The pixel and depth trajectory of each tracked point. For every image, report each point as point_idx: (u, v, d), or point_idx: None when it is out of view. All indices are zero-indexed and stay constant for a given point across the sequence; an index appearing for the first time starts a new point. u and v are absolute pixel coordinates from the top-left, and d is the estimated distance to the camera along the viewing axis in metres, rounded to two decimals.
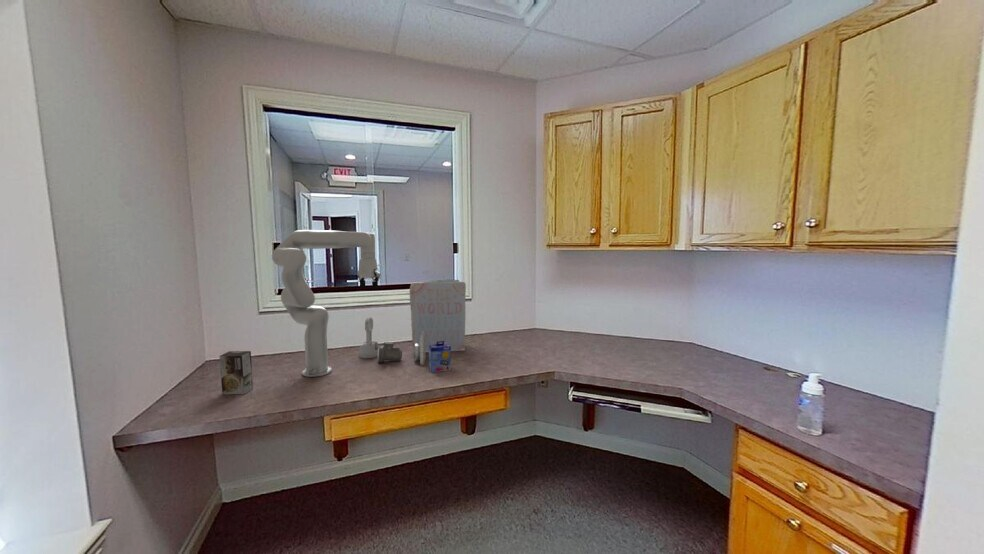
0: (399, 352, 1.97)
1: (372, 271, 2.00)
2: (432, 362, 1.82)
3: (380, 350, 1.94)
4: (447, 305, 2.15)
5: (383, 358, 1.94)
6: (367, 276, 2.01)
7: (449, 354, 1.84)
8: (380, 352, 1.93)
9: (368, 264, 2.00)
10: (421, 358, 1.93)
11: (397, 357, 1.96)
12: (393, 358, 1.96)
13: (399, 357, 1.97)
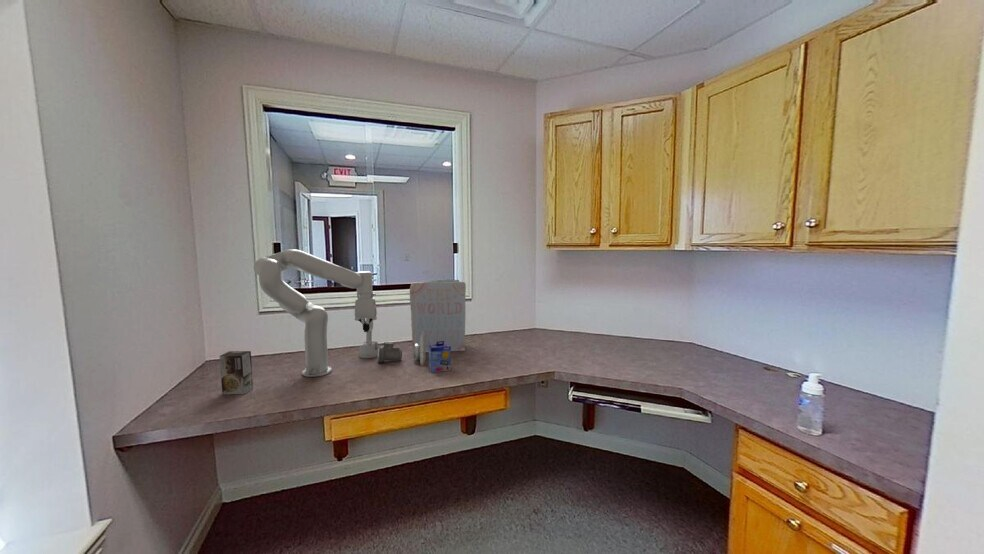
0: (399, 352, 1.97)
1: None
2: (432, 362, 1.82)
3: (380, 350, 1.94)
4: (447, 305, 2.15)
5: (383, 358, 1.94)
6: None
7: (449, 354, 1.84)
8: (380, 352, 1.93)
9: None
10: (421, 358, 1.93)
11: (397, 357, 1.96)
12: (393, 358, 1.96)
13: (399, 357, 1.97)
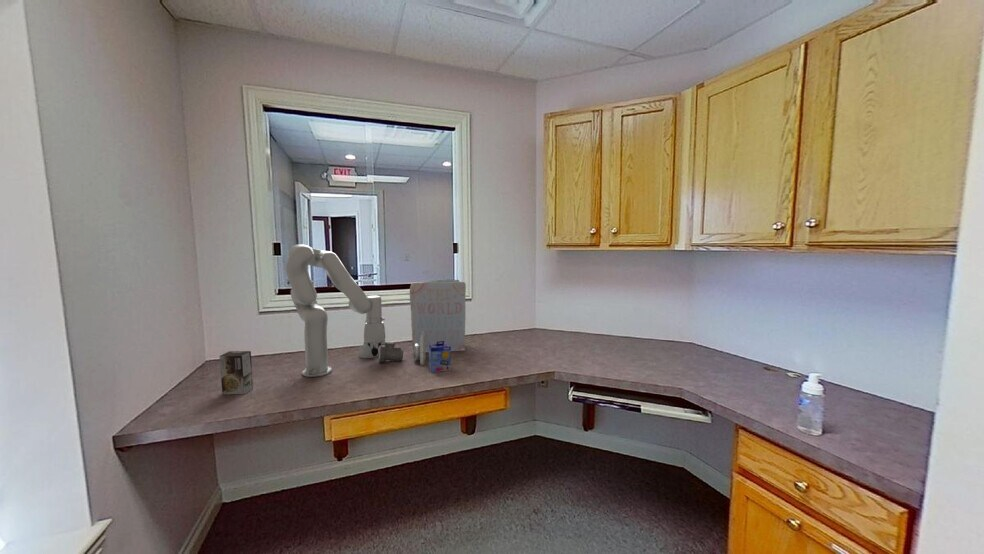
0: (400, 352, 1.97)
1: None
2: (432, 362, 1.82)
3: (381, 350, 1.94)
4: (447, 305, 2.15)
5: (384, 358, 1.94)
6: None
7: (449, 354, 1.84)
8: (381, 352, 1.93)
9: None
10: (421, 358, 1.93)
11: (398, 357, 1.96)
12: (394, 358, 1.96)
13: (400, 357, 1.97)
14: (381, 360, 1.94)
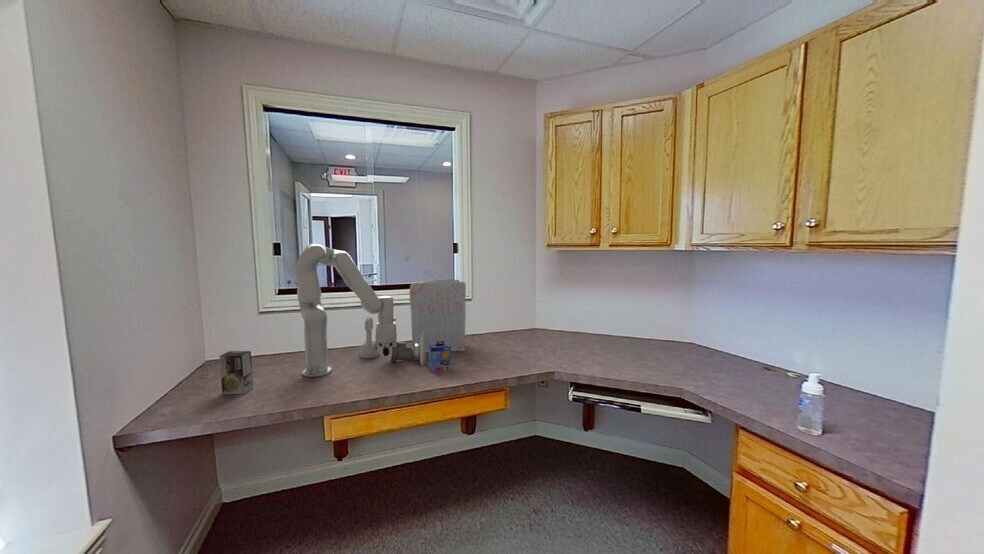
0: (412, 352, 1.98)
1: None
2: (432, 362, 1.82)
3: (393, 350, 1.94)
4: (447, 305, 2.15)
5: (396, 358, 1.95)
6: None
7: (449, 354, 1.84)
8: (393, 352, 1.94)
9: None
10: (421, 358, 1.93)
11: (410, 357, 1.97)
12: (406, 358, 1.96)
13: (412, 357, 1.97)
14: (392, 360, 1.94)
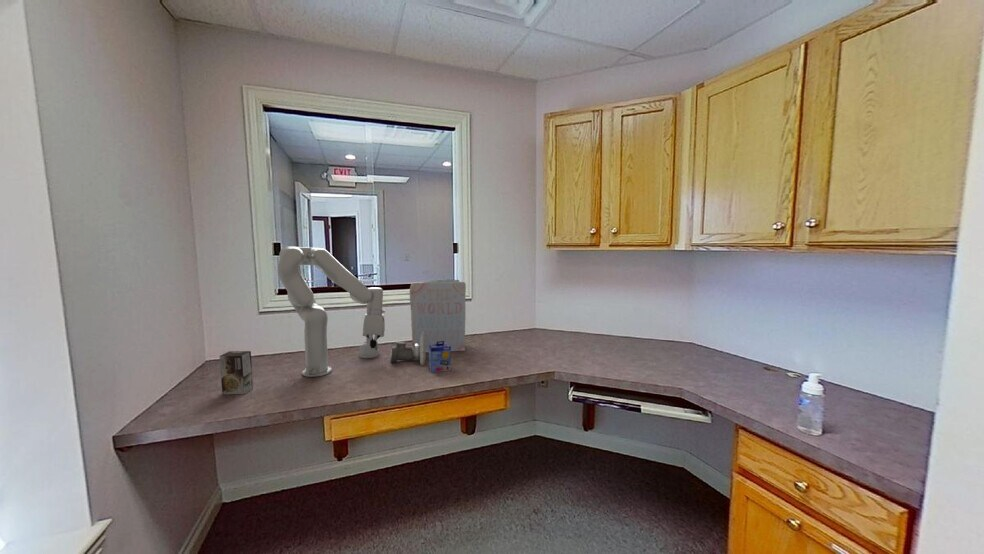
0: (412, 352, 1.98)
1: None
2: (432, 362, 1.82)
3: (393, 350, 1.94)
4: (447, 305, 2.15)
5: (396, 358, 1.95)
6: None
7: (449, 354, 1.84)
8: (393, 352, 1.94)
9: None
10: (421, 358, 1.93)
11: (410, 357, 1.97)
12: (406, 358, 1.96)
13: (412, 357, 1.97)
14: (392, 360, 1.94)
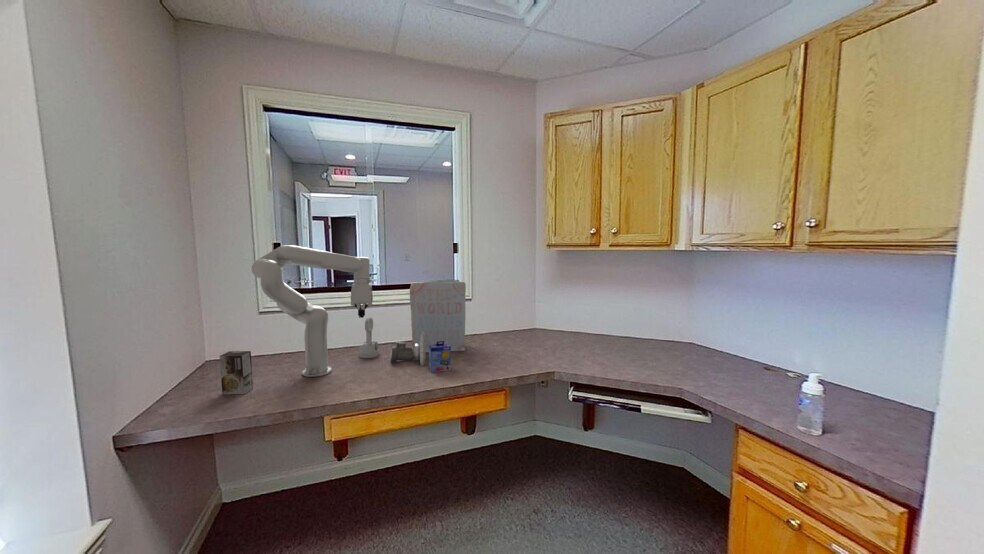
0: (412, 352, 1.98)
1: None
2: (432, 362, 1.82)
3: (393, 350, 1.94)
4: (447, 305, 2.15)
5: (396, 358, 1.95)
6: None
7: (449, 354, 1.84)
8: (393, 352, 1.94)
9: None
10: (421, 358, 1.93)
11: (410, 357, 1.97)
12: (406, 358, 1.96)
13: (412, 357, 1.97)
14: (392, 360, 1.94)
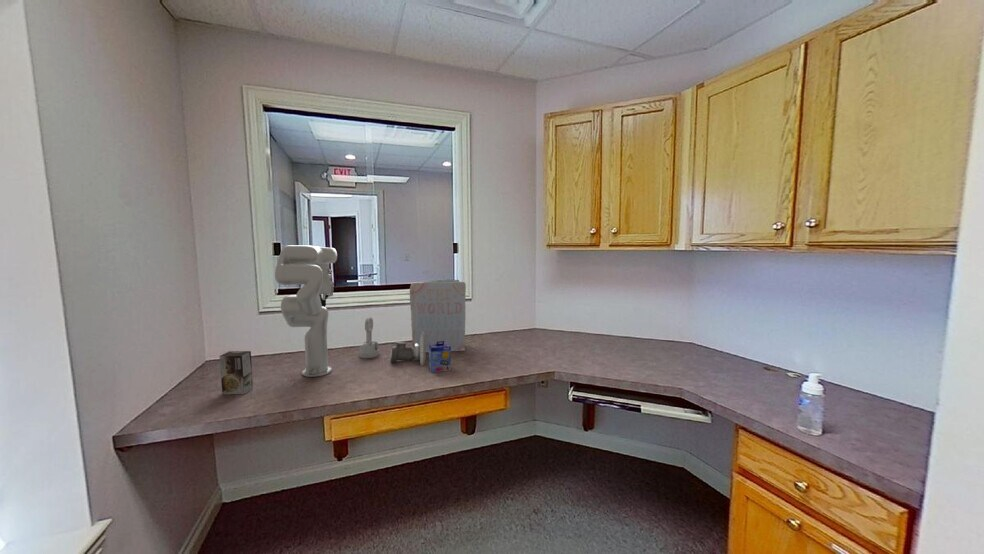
0: (412, 352, 1.98)
1: None
2: (432, 362, 1.82)
3: (393, 350, 1.94)
4: (447, 305, 2.15)
5: (396, 358, 1.95)
6: None
7: (449, 354, 1.84)
8: (393, 352, 1.94)
9: None
10: (421, 358, 1.93)
11: (410, 357, 1.97)
12: (406, 358, 1.96)
13: (412, 357, 1.97)
14: (392, 360, 1.94)
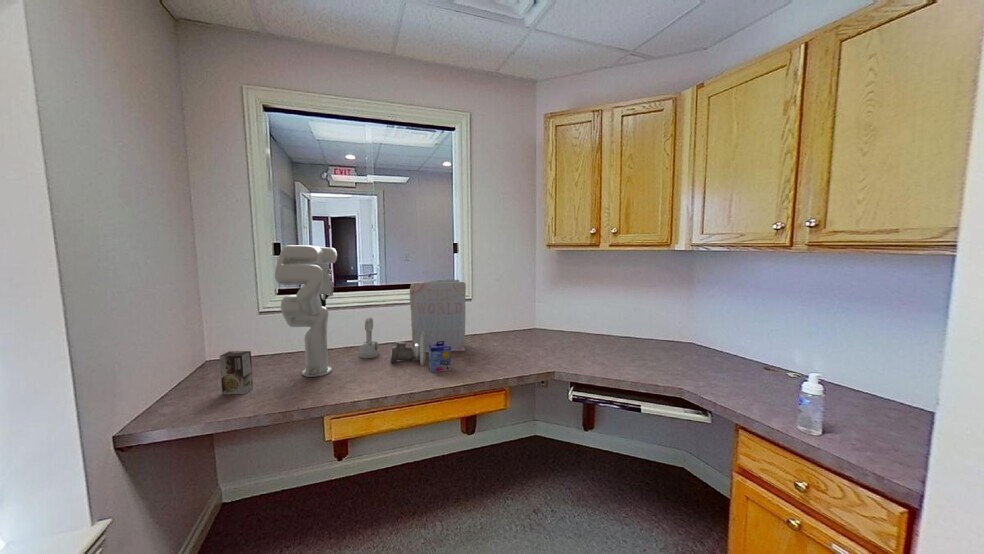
0: (412, 352, 1.98)
1: None
2: (432, 362, 1.82)
3: (393, 350, 1.94)
4: (447, 305, 2.15)
5: (396, 358, 1.95)
6: None
7: (449, 354, 1.84)
8: (393, 352, 1.94)
9: None
10: (421, 358, 1.93)
11: (410, 357, 1.97)
12: (406, 358, 1.96)
13: (412, 357, 1.97)
14: (392, 360, 1.94)
